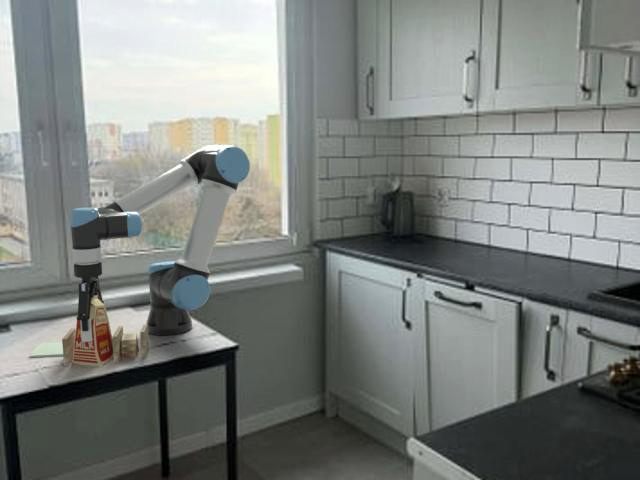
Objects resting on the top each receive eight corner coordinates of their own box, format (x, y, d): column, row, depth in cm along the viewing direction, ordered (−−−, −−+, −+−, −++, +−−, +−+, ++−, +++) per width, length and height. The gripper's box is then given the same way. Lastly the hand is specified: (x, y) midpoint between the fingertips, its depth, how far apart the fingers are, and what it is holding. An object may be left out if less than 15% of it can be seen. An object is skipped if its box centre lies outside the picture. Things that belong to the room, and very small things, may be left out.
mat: (77, 343, 189) (77, 341, 189) (68, 355, 179) (68, 353, 179) (40, 345, 188) (40, 343, 188) (29, 357, 177) (29, 355, 177)
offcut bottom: (139, 351, 183) (138, 345, 182) (135, 359, 177) (135, 352, 177) (125, 352, 182) (125, 346, 182) (121, 359, 176) (121, 353, 176)
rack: (148, 349, 184) (147, 324, 182) (144, 361, 174) (142, 335, 172) (73, 353, 180) (71, 328, 179) (64, 366, 171) (62, 339, 169)
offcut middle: (138, 345, 183) (138, 339, 182) (135, 352, 177) (135, 346, 176) (125, 346, 182) (124, 339, 182) (121, 353, 176) (121, 346, 176)
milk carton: (100, 366, 170) (95, 298, 167) (71, 364, 172) (65, 296, 169) (117, 355, 179) (112, 290, 176) (89, 353, 181) (84, 288, 177)
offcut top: (137, 339, 182) (136, 332, 182) (136, 345, 176) (135, 339, 176) (123, 340, 181) (122, 334, 181) (122, 347, 175) (121, 340, 175)
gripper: (84, 254, 182) (88, 321, 186) (61, 272, 158) (67, 348, 161) (109, 253, 183) (113, 320, 187) (91, 271, 159) (96, 347, 163)
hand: (92, 333), depth 174 cm, fingers open, 13 cm apart
